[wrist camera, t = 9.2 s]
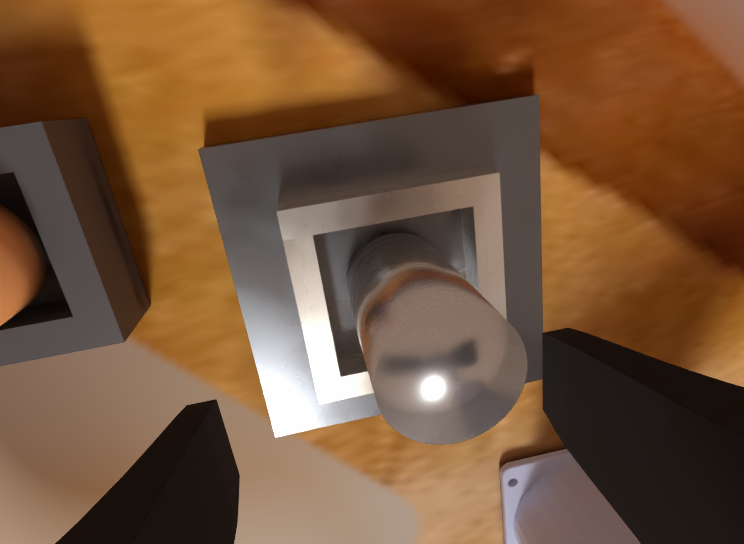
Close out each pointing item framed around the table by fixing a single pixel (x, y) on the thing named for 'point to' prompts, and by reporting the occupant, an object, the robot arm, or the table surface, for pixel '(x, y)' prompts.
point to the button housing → (68, 243)
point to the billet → (431, 342)
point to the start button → (18, 264)
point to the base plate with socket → (373, 236)
